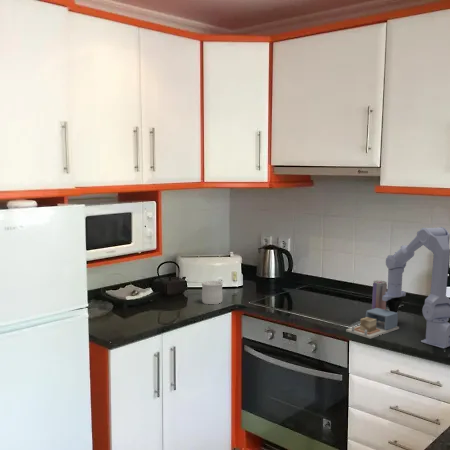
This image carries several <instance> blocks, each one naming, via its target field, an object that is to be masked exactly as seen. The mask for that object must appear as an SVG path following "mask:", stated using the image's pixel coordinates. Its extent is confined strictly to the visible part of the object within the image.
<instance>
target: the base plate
mask: <svg viewBox="0 0 450 450" xmlns="http://www.w3.org/2000/svg"><path fill="white" fill-rule="evenodd" d="M384 328H385V322H383V321H379V320H378V321H376V330H375V331H372V332H367V330H365V331H362V330H360V324H359V325H357V326H355V325H352V326H351V327H349V328H346V329H345V332H346V333H350V334H353V335H357V336H360V337H364V338H367V339H374V338H376V337H379V335H380V336H382V334H383V335H385V334H388V333H391V332H393V331H396V330H399V329H400V326H398V325H397V326H396V327H393V328H390V329H388V330H385V329H384Z"/></svg>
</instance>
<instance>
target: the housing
mask: <svg viewBox="0 0 450 450" xmlns="http://www.w3.org/2000/svg"><path fill="white" fill-rule="evenodd" d="M398 315H399V313H398V312H397V313H396V312H392V311H389V310H388V309H386V310H384V309H380V308H374V309H372V308H371V309H368V310H365V317H369V318H373V319H376V320H377V321H379V322H382V323H385V328H384V329H385V330H388V329H390V328H393V327H396V326H397V327H398V322H399V321H398V318H399V317H398Z"/></svg>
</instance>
